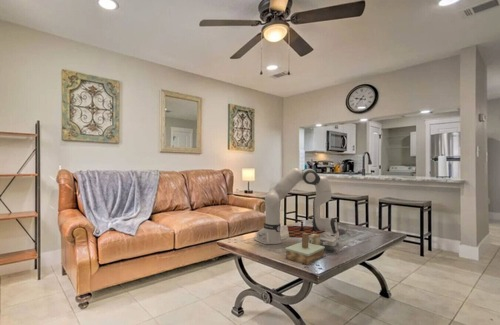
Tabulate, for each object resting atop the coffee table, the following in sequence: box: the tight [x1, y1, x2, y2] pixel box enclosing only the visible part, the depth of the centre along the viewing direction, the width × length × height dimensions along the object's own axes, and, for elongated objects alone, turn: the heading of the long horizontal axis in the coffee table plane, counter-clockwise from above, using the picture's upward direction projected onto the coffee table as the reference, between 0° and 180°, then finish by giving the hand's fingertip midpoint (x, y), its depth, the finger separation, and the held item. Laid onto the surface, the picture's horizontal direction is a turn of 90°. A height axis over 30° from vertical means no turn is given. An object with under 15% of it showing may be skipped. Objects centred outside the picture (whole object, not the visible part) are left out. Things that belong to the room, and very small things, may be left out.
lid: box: [284, 233, 326, 256], centre depth 174 cm, size 17×21×10 cm
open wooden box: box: [285, 249, 325, 265], centre depth 174 cm, size 16×20×5 cm
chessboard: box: [287, 221, 340, 240], centre depth 239 cm, size 40×40×11 cm
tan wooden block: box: [310, 234, 321, 246], centre depth 184 cm, size 4×4×12 cm
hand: (316, 242), depth 185 cm, fingers open, 8 cm apart
